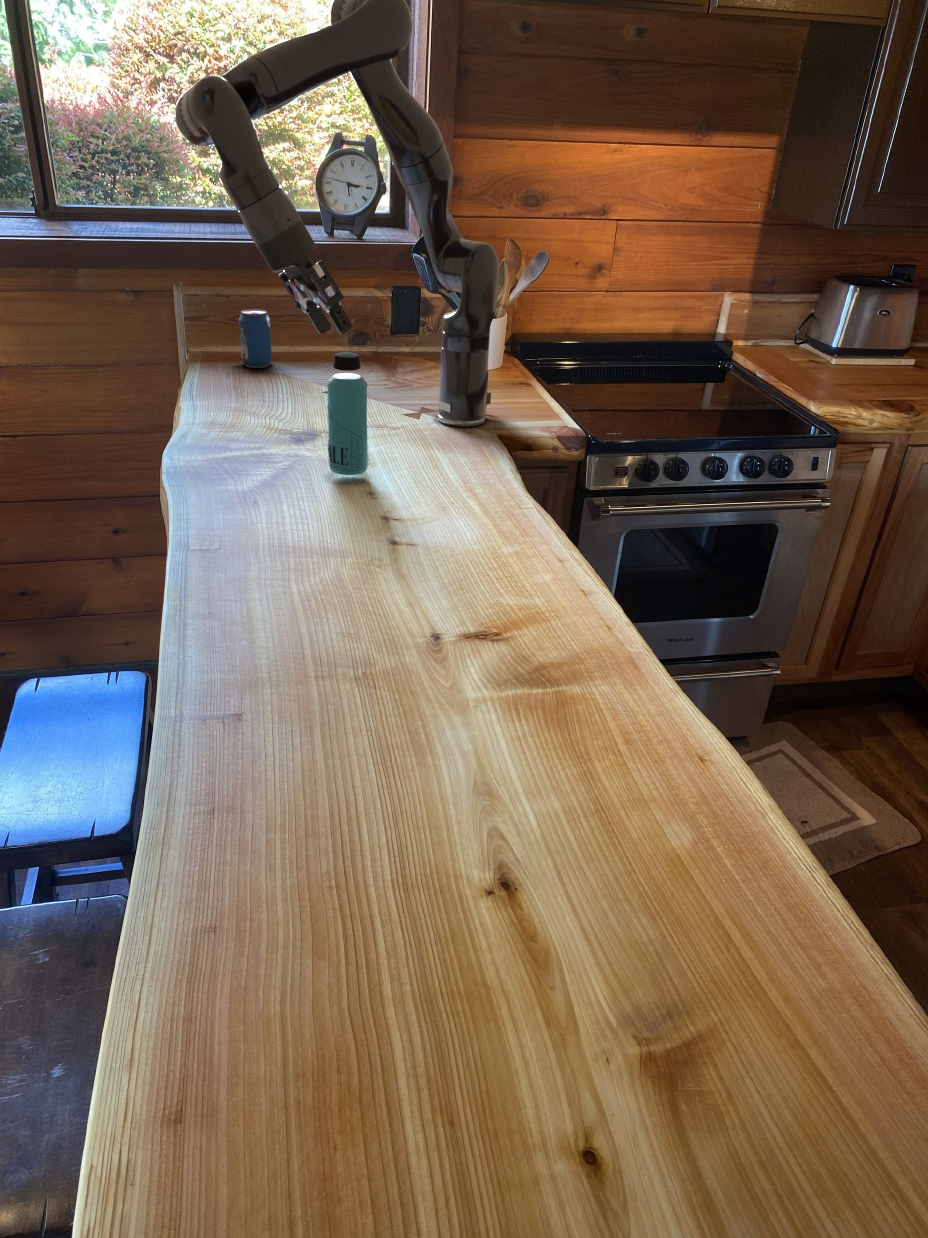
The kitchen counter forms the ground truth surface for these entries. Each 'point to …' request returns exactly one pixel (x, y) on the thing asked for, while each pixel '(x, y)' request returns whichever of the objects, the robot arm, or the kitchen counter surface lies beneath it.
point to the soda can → (255, 338)
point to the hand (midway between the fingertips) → (336, 331)
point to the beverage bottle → (347, 417)
